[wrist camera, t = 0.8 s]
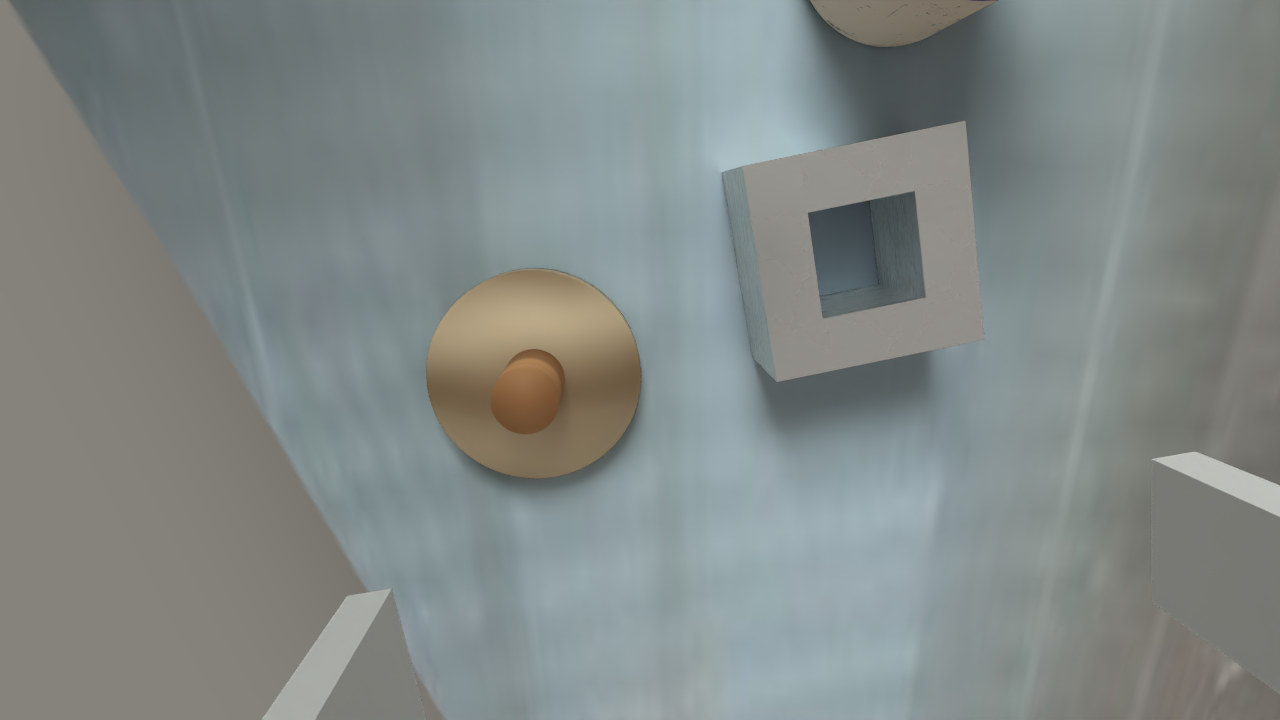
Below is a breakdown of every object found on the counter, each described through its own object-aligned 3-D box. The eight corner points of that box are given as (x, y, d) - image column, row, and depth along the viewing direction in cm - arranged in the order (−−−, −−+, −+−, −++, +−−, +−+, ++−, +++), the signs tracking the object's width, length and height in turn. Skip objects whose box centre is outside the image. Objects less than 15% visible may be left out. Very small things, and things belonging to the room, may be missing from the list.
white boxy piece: (721, 172, 32) (742, 165, 27) (910, 133, 32) (965, 120, 27) (752, 356, 34) (776, 381, 29) (930, 320, 34) (984, 339, 29)
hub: (410, 291, 32) (371, 308, 27) (616, 249, 32) (619, 257, 27) (463, 484, 35) (437, 535, 29) (656, 445, 35) (666, 488, 29)
